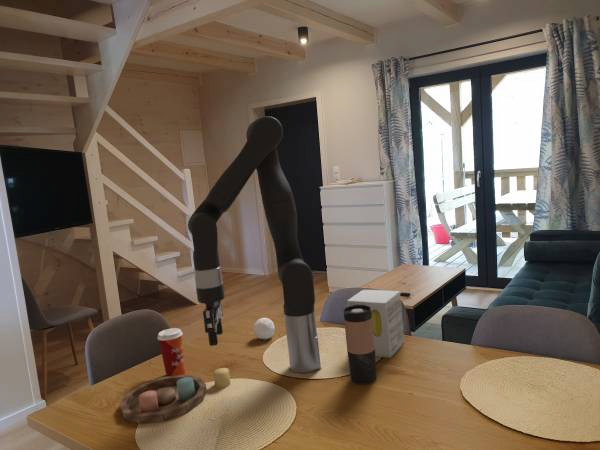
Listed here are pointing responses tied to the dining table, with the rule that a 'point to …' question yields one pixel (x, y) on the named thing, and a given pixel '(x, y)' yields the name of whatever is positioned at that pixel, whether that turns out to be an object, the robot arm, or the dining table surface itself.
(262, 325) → the geometric ball
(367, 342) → the travel mug
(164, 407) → the walnut tray
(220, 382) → the ochre bead
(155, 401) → the pink rounded piece
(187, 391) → the pale blue rounded piece
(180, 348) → the paper cup
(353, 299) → the supplement box
